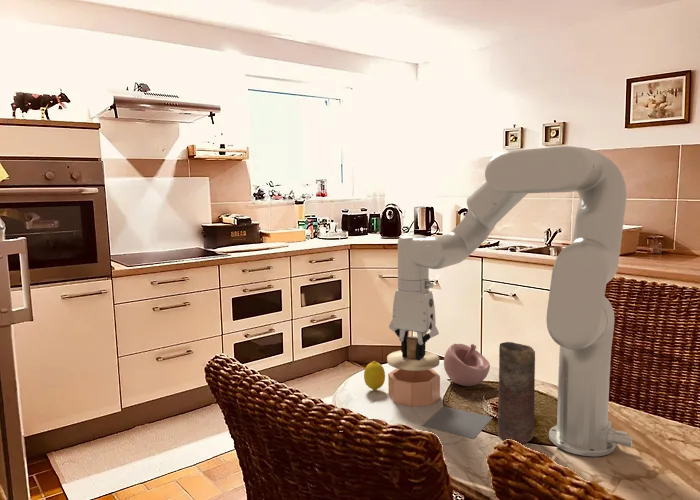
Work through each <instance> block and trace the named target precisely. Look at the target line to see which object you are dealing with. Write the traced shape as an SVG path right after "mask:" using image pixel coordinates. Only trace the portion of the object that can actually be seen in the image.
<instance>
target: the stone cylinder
mask: <svg viewBox="0 0 700 500" xmlns="http://www.w3.org/2000/svg"><path fill="white" fill-rule="evenodd" d="M498 347H499V351H498V352H499V353H498V354H499V355H498V357H499V359H498V363H499V364H498V365H499V367H498V369H499V370H498V400H497V401H498V402H497V404H498V406H497V407H498V408H497V409H498V411H497V437H498V438H499V439H500V440H502V441H504V440H506V439H512V440H515V441H517V442H520V443H519V444H525V443H528V442H529V441H532V440H533V438H534V436H535V411H536V409H535V405H536V404H535V398H536V397H535V394H536V392H535V385H536V384H535V383H536V381H535V378H536V375H535V374H536V351H535V350H534V348H533V347H532V346H531V345H527V344H522V343H516V342H513V341H512V342H511V341H506V342H501V343H500V344H499V346H498ZM504 442H505V441H504Z"/></svg>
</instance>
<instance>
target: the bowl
mask: <svg viewBox="0 0 700 500" xmlns="http://www.w3.org/2000/svg"><path fill="white" fill-rule="evenodd" d="M387 379H388V396H389V397H390V399H391V400H392V402H393V403H395V404H398V405H403V406H408V407H413V408H414V407H422V406H430V405H433V404H434V403H436V401H438V400H439V399H440V398H441V376H440V375H439V373H438V372H437V371H436V370H434V368H432V369H428V370H421V371H410V370H402V369H397V368H394V370H392V371H391V372H388V377H387Z"/></svg>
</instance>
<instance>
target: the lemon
mask: <svg viewBox="0 0 700 500" xmlns="http://www.w3.org/2000/svg"><path fill="white" fill-rule="evenodd" d="M363 379H364V383H365V385H366V386H367V388H370V389H372V391H374V392H375V391H377V390H378V389H380V388H381V387H382V386H384V384H385V381H386V380H385V379H386V372H385V369H384V366H383V365H382V364H381V363H379V362H377V361H376V360H373V361H372V362H370V363H368V364H367V365H366V367H365V369H364V371H363Z"/></svg>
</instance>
